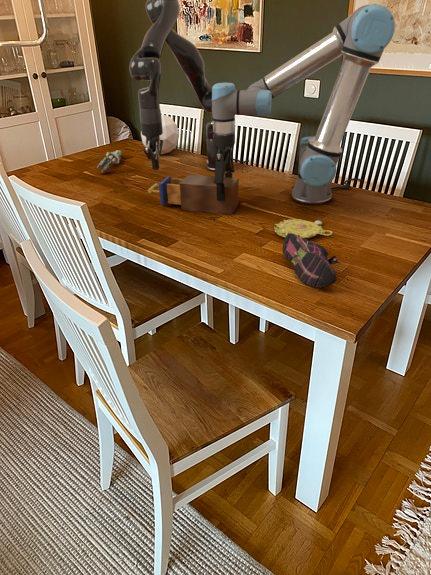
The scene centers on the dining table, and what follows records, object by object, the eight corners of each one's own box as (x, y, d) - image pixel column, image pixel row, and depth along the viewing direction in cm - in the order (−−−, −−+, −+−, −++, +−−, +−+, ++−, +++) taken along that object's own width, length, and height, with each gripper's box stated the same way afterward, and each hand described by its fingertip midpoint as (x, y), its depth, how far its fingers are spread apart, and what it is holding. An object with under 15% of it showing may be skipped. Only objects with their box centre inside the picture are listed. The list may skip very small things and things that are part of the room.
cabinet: (181, 210, 165) (179, 183, 160) (190, 200, 173) (188, 174, 168) (231, 214, 160) (231, 187, 155) (238, 204, 168) (238, 178, 163)
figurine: (101, 154, 197) (119, 141, 223) (91, 167, 200) (110, 152, 227) (114, 165, 199) (130, 151, 225) (103, 178, 203) (121, 162, 229)
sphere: (153, 165, 235) (133, 132, 232) (185, 147, 237) (165, 113, 235) (153, 156, 216) (131, 120, 214) (188, 137, 218) (167, 100, 216)
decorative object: (286, 211, 157) (342, 219, 147) (286, 217, 158) (341, 226, 148) (260, 233, 142) (319, 243, 133) (260, 240, 144) (319, 251, 134)
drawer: (147, 203, 169) (145, 182, 164) (156, 195, 176) (154, 175, 171) (206, 209, 163) (205, 187, 158) (213, 200, 170) (212, 179, 165)
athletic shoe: (323, 277, 110) (361, 269, 114) (285, 218, 122) (321, 213, 126) (307, 304, 119) (343, 296, 123) (273, 246, 130) (307, 241, 135)
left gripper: (148, 116, 162) (153, 163, 171) (133, 124, 151) (139, 174, 160) (167, 117, 160) (171, 164, 169) (153, 125, 149) (158, 175, 159)
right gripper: (222, 125, 161) (223, 184, 173) (203, 141, 142) (205, 205, 154) (242, 125, 159) (242, 185, 171) (225, 142, 140) (226, 207, 152)
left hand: (155, 169), depth 165 cm, fingers closed
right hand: (224, 195), depth 162 cm, fingers closed on cabinet, 10 cm apart
